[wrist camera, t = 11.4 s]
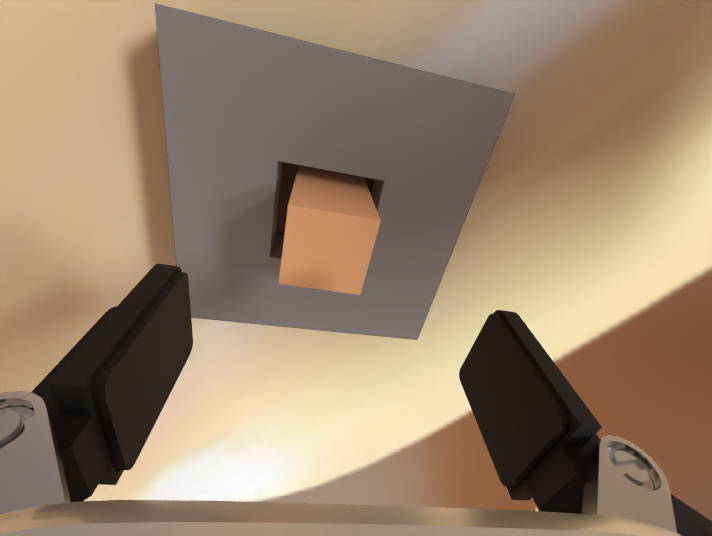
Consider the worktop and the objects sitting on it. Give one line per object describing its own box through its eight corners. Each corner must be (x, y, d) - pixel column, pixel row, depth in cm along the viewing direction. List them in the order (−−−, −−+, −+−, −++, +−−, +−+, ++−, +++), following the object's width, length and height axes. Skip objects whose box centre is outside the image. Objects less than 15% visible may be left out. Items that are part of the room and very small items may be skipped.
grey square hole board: (488, 91, 18) (515, 94, 16) (408, 313, 26) (417, 339, 23) (182, 15, 15) (154, 3, 13) (196, 289, 23) (180, 316, 21)
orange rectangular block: (364, 177, 20) (380, 221, 14) (350, 234, 22) (360, 294, 16) (299, 164, 19) (288, 204, 13) (291, 225, 21) (278, 284, 15)
